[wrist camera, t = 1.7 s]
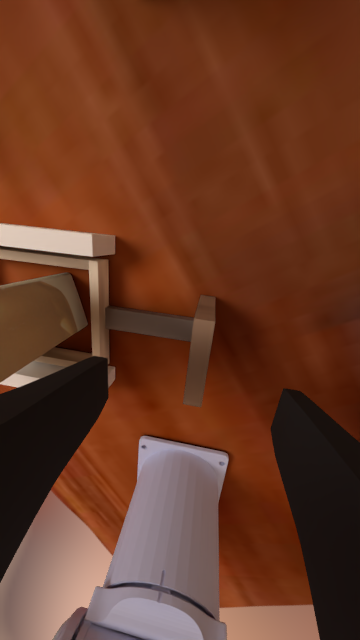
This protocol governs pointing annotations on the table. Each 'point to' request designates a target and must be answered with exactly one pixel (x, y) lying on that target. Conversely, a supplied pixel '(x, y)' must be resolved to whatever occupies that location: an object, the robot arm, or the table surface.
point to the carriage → (130, 320)
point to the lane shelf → (61, 244)
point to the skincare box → (36, 319)
